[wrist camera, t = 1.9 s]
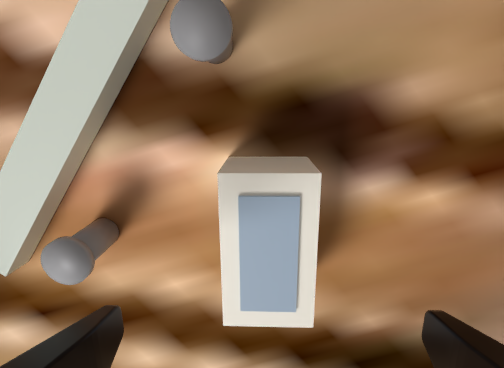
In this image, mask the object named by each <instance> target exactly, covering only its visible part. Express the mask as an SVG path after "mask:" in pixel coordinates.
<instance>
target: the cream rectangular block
mask: <svg viewBox="0 0 504 368" xmlns="http://www.w3.org/2000/svg"><path fill="white" fill-rule="evenodd" d="M321 176H322V173H321V172H320V171H319V170H318V169H317V167H316V166H315V165H314V164H313V163H312V162H311V160H310V159H309V158H308V157H228V159H227V160H226V161H225V163H224V164H223V166H222V167H221V169H220V170H219V172H218V200H219V226H220V252H221V279H222V305H223V326H259V327H306V328H313V323H314V304H315V286H316V267H317V249H318V231H319V212H320V194H321Z"/></svg>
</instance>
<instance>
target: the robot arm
mask: <svg viewBox="0 0 504 368" xmlns="http://www.w3.org/2000/svg"><path fill="white" fill-rule="evenodd" d="M123 332H124V327H123V320H122V312H121V308H120V307H119V306H118V305H106V306H103V307H102V308H100V309H98V310H96V311H95V312H93V313H91V314H90V315H88V316H86V317H84V318H83V319H81V320H79V321H78V322H76V323H74V324H72V325H71V326H69V327H67V328H66V329H64V330H62V331H60V332H59V333H57V334H55V335H54V336H52V337H50V338H48V339H47V340H45V341H43V342H42V343H40V344H38V345H36V346H35V347H33V348H31V349H30V350H28V351H26V352H24V353H23V354H21V355H19V356H18V357H16V358H14V359H12V360H11V361H9V362H7V363H6V364H4V365H2V366H0V368H111V365H112V362H113V360H114V357H115V355H116V352H117V350H118V347H119V345H120V342H121V340H122V337H123ZM422 340H423V343H424V346H425V348H426V350H427V353H428V355H429V357H430V359H431V362H432V364H433V366H434V368H504V345H503V344H501V343H499V342H498V341H496V340H494V339H492V338H491V337H489V336H487V335H485V334H483V333H482V332H480V331H478V330H476V329H474V328H473V327H471V326H469V325H467V324H465V323H464V322H462V321H460V320H458V319H456V318H455V317H453V316H451V315H449V314H448V313H446V312H444V311H441V310H428V311H427V312H426V313H425V317H424V323H423V329H422Z"/></svg>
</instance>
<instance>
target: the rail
mask: <svg viewBox="0 0 504 368" xmlns="http://www.w3.org/2000/svg"><path fill="white" fill-rule="evenodd" d="M167 2H168V0H79V1H78V3H77V5H76V7H75V10H74V12H73V14H72V16H71V18H70V21H69V23H68V25H67V27H66V29H65V31H64V34H63V36H62V38H61V40H60V42H59V44H58V47H57V49H56V51H55V53H54V55H53V58H52V60H51V62H50V64H49V66H48V68H47V71H46V73H45V75H44V77H43V79H42V82H41V84H40V86H39V88H38V90H37V92H36V95H35V97H34V99H33V101H32V103H31V105H30V108H29V110H28V112H27V114H26V116H25V119H24V121H23V123H22V125H21V127H20V129H19V132H18V134H17V136H16V138H15V140H14V143H13V145H12V147H11V149H10V151H9V153H8V156H7V158H6V160H5V162H4V164H3V166H2V169H1V171H0V274H2V275H4V276H7V275H9V274H10V273H12V272H13V271H15V270H16V269H18V268H19V267H21V266H22V265H24V264H25V263H27V262H28V261H29V260H30V258H31V256H32V255H33V253H34V251H35V249H36V247H37V245H38V243H39V241H40V240H41V238H42V236H43V234H44V232H45V230H46V228H47V226H48V225H49V223H50V221H51V219H52V217H53V215H54V213H55V211H56V210H57V208H58V206H59V204H60V202H61V200H62V198H63V196H64V195H65V193H66V191H67V189H68V187H69V185H70V183H71V182H72V180H73V178H74V176H75V174H76V172H77V170H78V168H79V167H80V165H81V163H82V161H83V159H84V157H85V155H86V153H87V152H88V150H89V148H90V146H91V144H92V142H93V140H94V138H95V137H96V135H97V133H98V131H99V129H100V127H101V125H102V123H103V122H104V120H105V118H106V116H107V114H108V112H109V110H110V108H111V107H112V105H113V103H114V101H115V99H116V97H117V95H118V93H119V92H120V90H121V88H122V86H123V84H124V82H125V80H126V78H127V77H128V75H129V73H130V71H131V69H132V67H133V65H134V64H135V62H136V60H137V58H138V56H139V54H140V52H141V50H142V49H143V47H144V45H145V43H146V41H147V39H148V37H149V35H150V34H151V32H152V30H153V28H154V26H155V24H156V22H157V20H158V19H159V17H160V15H161V13H162V11H163V9H164V7H165V5H166V4H167ZM170 30H171V35H172V38H173V40H174V42H175V44H176V46H177V47H178V48H179V49H180V51H181V52H183V53H184V54H185V55H187V56H188V57H190V58H192V59H194V60H197V61H202V62H206V61H208V62H210V63H213V64H219V63H222V62H224V61H226V60H227V59H228V58H229V57H230V55H231V53H232V49H233V43H232V34H233V25H232V20H231V17H230V14H229V12H228V10H227V8H226V6H225V5H224V4H223V2H222V1H221V0H179V2H178V3H177V4H176V6H175V7H174V9H173V12H172V15H171V20H170ZM118 237H119V230H118V227H117V226H116V224H115V223H114V222H113V221H111V220H109V219H106V218H100V219H97V220H95V221H94V222H92V223H91V224H89V225H88V226H86V227H85V228H83V229H82V230H80V231H79V232H77V233H76V234H75V235H73V236H72V237H60V238H57V239H55V240H54V241H52V242H51V243H49V244H48V245H46V246H45V248H44V249H43V251H42V254H41V264H42V267H43V269H44V271H45V272H46V273H47V275H48V276H49V277H50V278H52V279H53V280H55V281H57V282H59V283H61V284H66V285H74V284H77V283H80V282H82V281H83V280H84V279H85V278H86V277H87V276H88V275H89V274H90V273H91V272H92V270H93V268H94V264H95V260H96V259H97V258H98V257H99V256H100V255H101V254H103V253H104V252H105V251H106V250H107V249H108V248H109V247H110V246H111V245H112V244H113V243H114V242H115V241H116V240H117V239H118Z"/></svg>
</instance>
